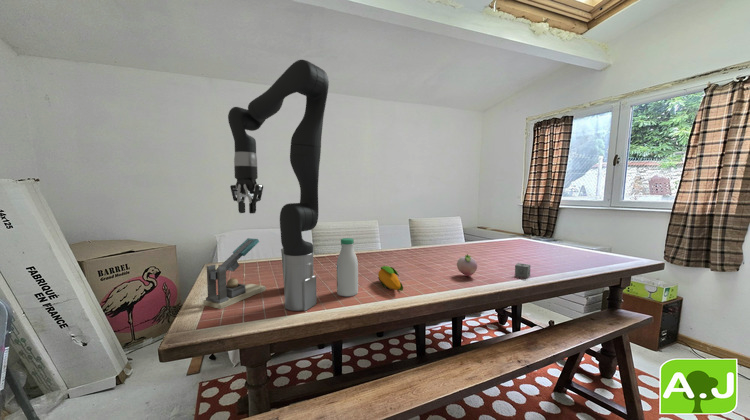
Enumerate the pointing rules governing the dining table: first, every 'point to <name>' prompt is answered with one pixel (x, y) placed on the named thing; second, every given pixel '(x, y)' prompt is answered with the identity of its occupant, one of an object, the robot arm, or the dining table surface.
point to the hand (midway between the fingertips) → (247, 212)
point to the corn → (389, 278)
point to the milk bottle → (347, 269)
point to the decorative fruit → (467, 265)
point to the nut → (232, 283)
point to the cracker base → (227, 290)
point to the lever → (236, 256)
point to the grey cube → (522, 270)
